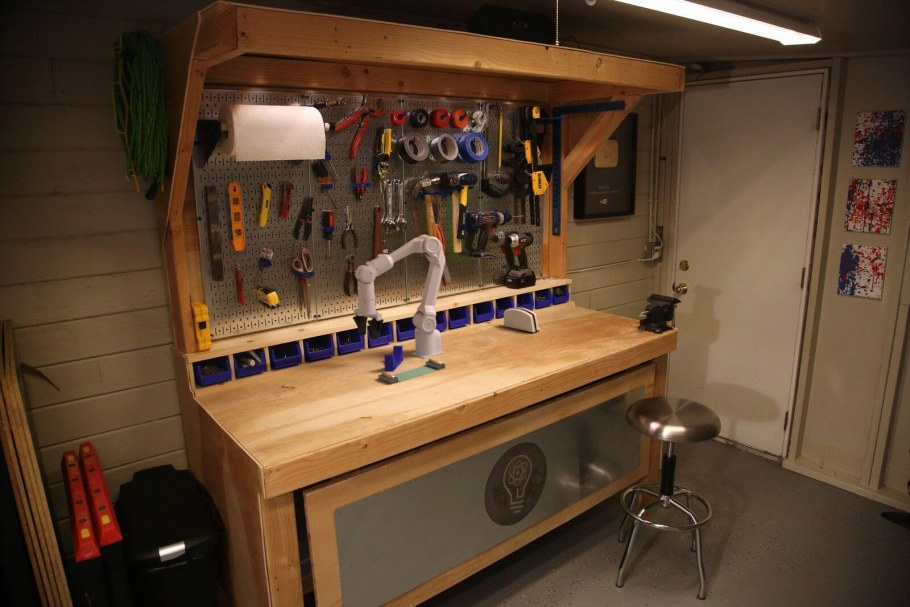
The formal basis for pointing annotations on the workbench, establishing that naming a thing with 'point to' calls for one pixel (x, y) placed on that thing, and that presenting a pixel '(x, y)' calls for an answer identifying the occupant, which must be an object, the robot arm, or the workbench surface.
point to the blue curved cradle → (393, 358)
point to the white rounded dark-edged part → (521, 319)
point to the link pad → (413, 373)
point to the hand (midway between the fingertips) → (369, 336)
